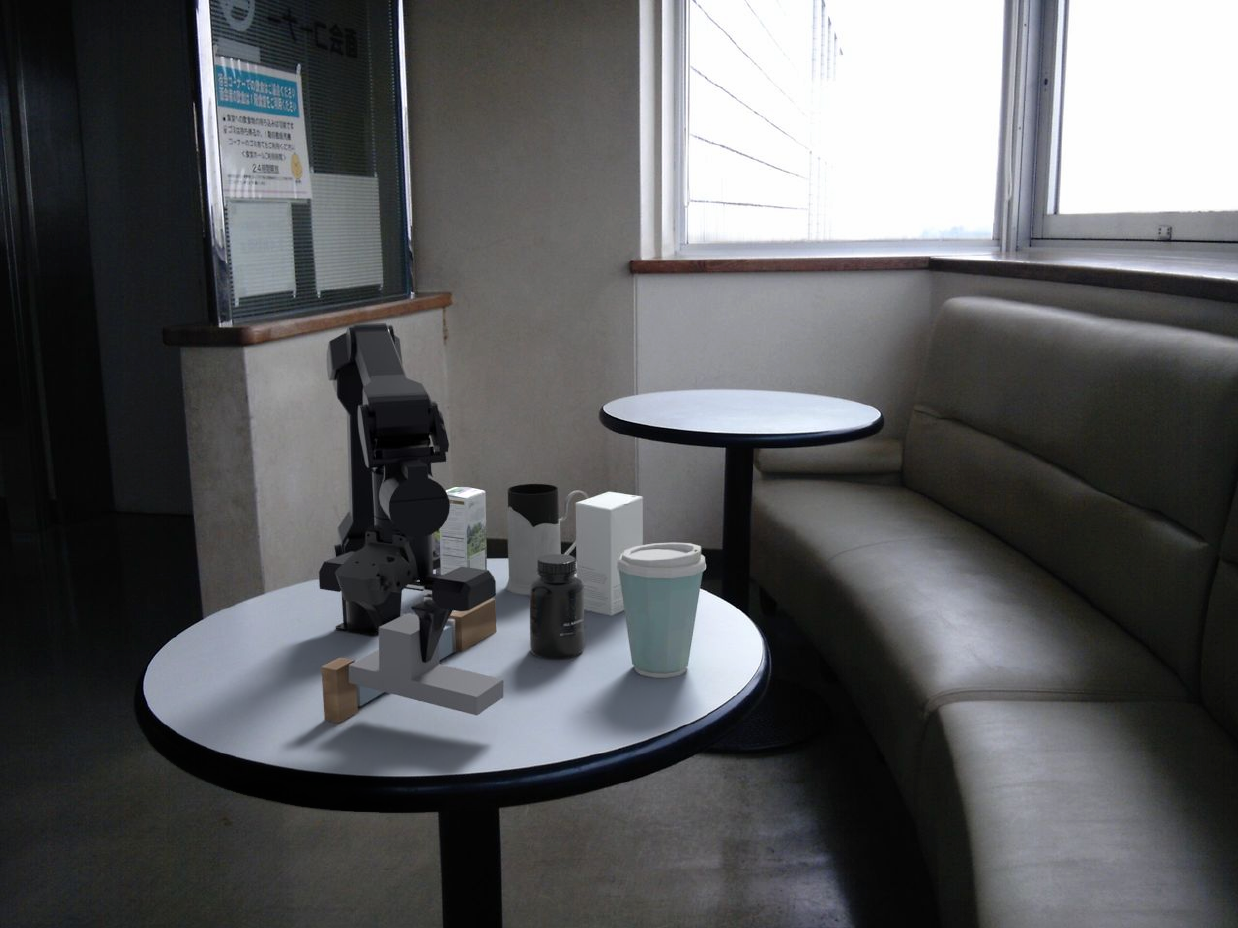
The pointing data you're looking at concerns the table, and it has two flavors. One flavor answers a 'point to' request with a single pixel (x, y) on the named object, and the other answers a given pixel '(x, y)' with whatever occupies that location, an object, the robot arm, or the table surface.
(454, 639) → the door leaf
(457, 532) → the syrup box
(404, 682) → the gray t-shaped pedestal
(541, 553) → the glass holder
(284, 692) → the table surface
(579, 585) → the supplement bottle
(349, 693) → the wooden blocks
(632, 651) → the disposable coffee cup
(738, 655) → the table surface
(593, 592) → the skincare box
